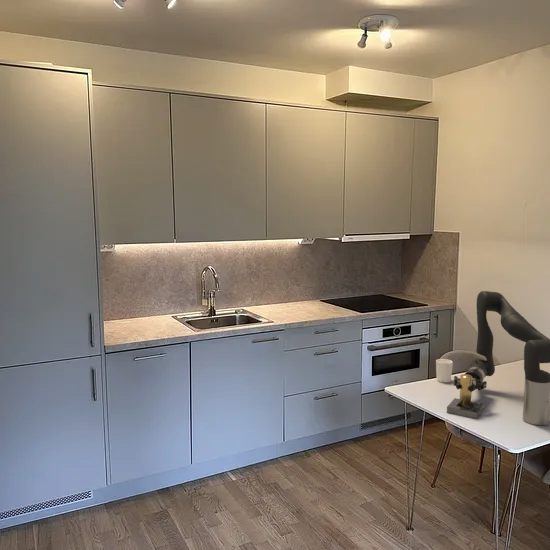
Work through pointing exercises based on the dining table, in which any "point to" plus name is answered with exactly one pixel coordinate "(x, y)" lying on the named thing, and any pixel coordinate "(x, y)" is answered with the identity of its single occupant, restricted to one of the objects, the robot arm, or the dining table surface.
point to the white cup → (443, 370)
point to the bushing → (465, 389)
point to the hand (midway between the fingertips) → (464, 388)
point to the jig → (465, 409)
